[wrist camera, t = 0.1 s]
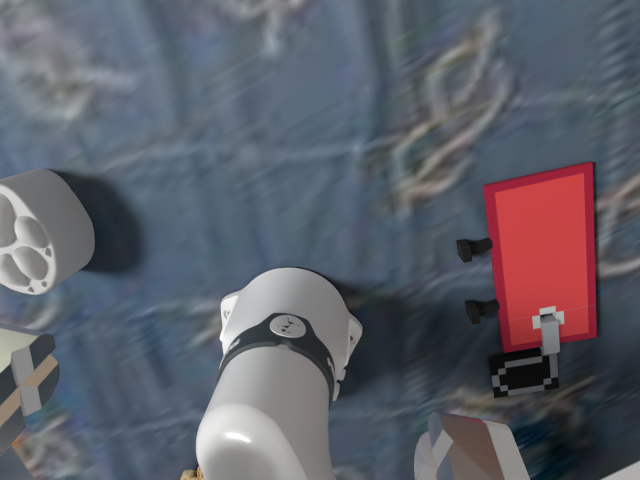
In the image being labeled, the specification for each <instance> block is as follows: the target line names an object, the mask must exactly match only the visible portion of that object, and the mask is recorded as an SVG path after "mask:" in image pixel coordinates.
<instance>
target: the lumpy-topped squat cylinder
mask: <svg viewBox="0 0 640 480" xmlns="http://www.w3.org/2000/svg"><path fill="white" fill-rule="evenodd" d="M94 248H95V239H94V229H93V224H92V221H91V219H90V217H89V215H88V214H87V212H86V210H85V209H84V207H83V205H82V204H81V202H80V201H79V199H78V198H77V196H76V195H75V194H74V192H73V191H72V190H71V188H70V187H69V186H68V184H67V183H66V182H65V181H64V180H63V179H62V178H61V177H60V176H59V175H57V174H56V173H54V172H52V171H50V170H47V169H35V170H32V171H28V172H25V173H21V174H18V175H14V176H10V177H7V178H3V179H0V283H1V284H3V285H5V286H7V287H8V288H10V289H13V290H16V291H19V292H22V293H27V294H32V295H38V294H43V293H46V292H48V291H50V290H51V289H52V288H54V287H55V286H57V285H58V284H60V283H61V282H63V281H64V280H65V279H67V278H68V277H70V276H71V275H73V274H74V273H76V272H77V271H78V270H80V269H81V268H83V267H84V266H86V265H87V264H88V263H89V261H90V260H91V258H92V255H93V252H94Z"/></svg>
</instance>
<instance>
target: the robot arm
mask: <svg viewBox="0 0 640 480" xmlns="http://www.w3.org/2000/svg"><path fill="white" fill-rule="evenodd" d="M229 311H230V313H229ZM221 314H222V324H223V330H222V332H221V335H220V340H221V341H222V345H223V353H224V356H223V359H222V361H221V364H220V367H219V372H218V375H217V387H216V389H215V391H214V394H213V396H212V398H211V401H210V403H209V405H208V408H207V410H206V412H205V414H204V417H203V419H202V421H201V424H200V426H199V429H198V433H197V438H196V454H197V460H198V463H199V467H200V469H201V472H202V474H203V476H204V478H205V480H337V479H336V477H335V474H334V471H333V468H332V464H331V460H330V453H329V437H328V411H329V409H330V407H331V404H332V401H335V400H336V399H337V396H338V393H339V389H340V384H339V383H337V382H336V381H337V379H338V380H341V381H342V380H343V379H344V377H345V373H346V370H345V369H343V368H344V367H345V366H347V364H348V360H349V357H350V356H351V354H352V352H353V350H354V348H355V346H356V345H357V343H358V341H359V339H360V337H361V335H362V330H363V327H362V325H361V323H360V322H359V321H358V320H357V319H356V318H355V317H354V316H353V315H352V314H350V313H349V311H348V310H347V308H346V306H345V303H344V301H343V299H342V297H341V295H340V294H339V292H338V291H337V289H336V288H335V287H334V286H333V285H332V284H331V283H330V282H329V281H327V280H326V279H325V278H323V277H321V276H320V275H318V274H316V273H313V272H311V271H308V270H304V269H299V268H278V269H274V270H270V271H268V272H265V273H263V274H261V275H259V276H258V277H256V278H255V279H254V280H252V281H251V282H250V283H249V284H248V285H247V286H246V287H245V288H244V289H242V290H240V291H237V292H234V293H231V294H229V295H227V296H225V297H224V298H223V300H222V303H221ZM350 336H352V338H350ZM55 348H56V346H55V341H54V337H53V335H50V334H47V333H43V332H39V331H35V330H30V329H26V328H21V327H17V326H13V325H8V324H4V323H0V457H1V456H2V455H3V453H4V452H5V451H6V450H7V449H8V447H9V446H10V445H11V444H12V443H13V442H14V440H15V439H16V438H17V437H18V436H19V434H20V433H21V432H22V431H23V430H24V429H25V427H26V416H27V415H29V414H31V413H33V412H35V411H37V410H39V409H41V408H42V407H43V406H44V405H45V403H46V402H47V401H48V400H49V399H50V397H51V396H52V394H53V392H54V390H55V387H56V385H57V383H58V379H59V373H60V371H59V364H58V362H57V361H56V360H55V359H54V358H53V357H52V355H51V354H50V353H51V352H52V351H53V350H54V349H55ZM427 424H428V430H429V432H427V433H425V434H423V435H421V436H420V439H419V441H418V444H417V446H416V452H415V458H414V471H415V480H530V478H529V475H528V473H527V470H526V468H525V465H524V463H523V460H522V458H521V455H520V453H519V450H518V448H517V445H516V443H515V440H514V437H513V435H512V432H511V430H510V429H509V428H508V426H507V425H505V424H500V423H495V422H490V421H485V420H480V419H476V418H470V417H465V416H460V415H454V414H449V413H444V412H439V411H434V412H433V413H432V414H431V415H430V417H429V419H428V422H427Z"/></svg>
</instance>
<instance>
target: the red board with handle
mask: <svg viewBox="0 0 640 480" xmlns="http://www.w3.org/2000/svg"><path fill="white" fill-rule="evenodd" d="M483 188H484V197H485V206H486V215H487V224H488V233H489V238H486V239H483V240H480V241H477V242H474V243H471V244H468V243H467V242H466V240H465V239H463V240H458V241H456V242H457V249H458V255H459V256H460V258H461V259H462V261H463V262H464V263H465V262H470V261H472V256H471V255H472V254H475V253H478V252H481V251H484V250H487V249H490V250H491V259H492V268H493V276H494V285H495V293H496V299H495V300H492V301H489V302H486V303H484V304H481V305H478V306H476V304H475V303H474V301H473V300H469V301H465V304H466V311H467V315H468V317H469V318H470V320H471V322H472V324H477V323H481V322H480V316H483V315H485V314H488V313H491V312H494V311H497V310H498V319H499V327H500V336H501V344H502V349H503V351H504V353H507V352H512V351H518V350H524V349H530V348H536V347H539V348H540V349H541V350H539V351H534V352H528V353H522V354H516V355H510V356H504V357H498V358H492V359H489V360H490V368H491V375H492V383H493V390H494V398H498V397H504V396H511V395H517V394H523V393H530V392H536V391H543V390H549V389H555V388H559V382H558V366H557V352H560V344H559V343H565V342H571V341H577V340H583V339H589V338H595V337H597V326H596V285H595V243H594V201H593V162H585V163H581V164H576V165H572V166H567V167H563V168H558V169H553V170H549V171H544V172H540V173H535V174H531V175H526V176H522V177H517V178H513V179H508V180H504V181H499V182H494V183H490V184H485V185H483ZM549 313H552V315H548V316H542V317H540V315H544V314H549Z"/></svg>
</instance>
